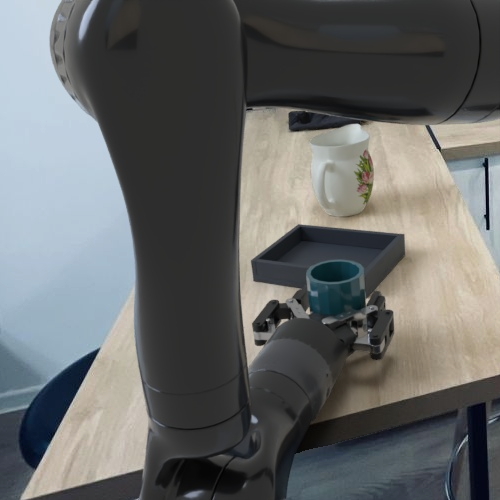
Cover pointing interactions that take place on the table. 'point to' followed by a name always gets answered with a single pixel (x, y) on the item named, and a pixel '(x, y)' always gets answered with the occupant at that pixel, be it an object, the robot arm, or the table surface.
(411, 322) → the table surface
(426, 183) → the table surface
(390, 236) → the tray
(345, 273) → the tumbler
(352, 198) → the pitcher
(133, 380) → the table surface
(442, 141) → the table surface
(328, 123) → the folded dark cloth
